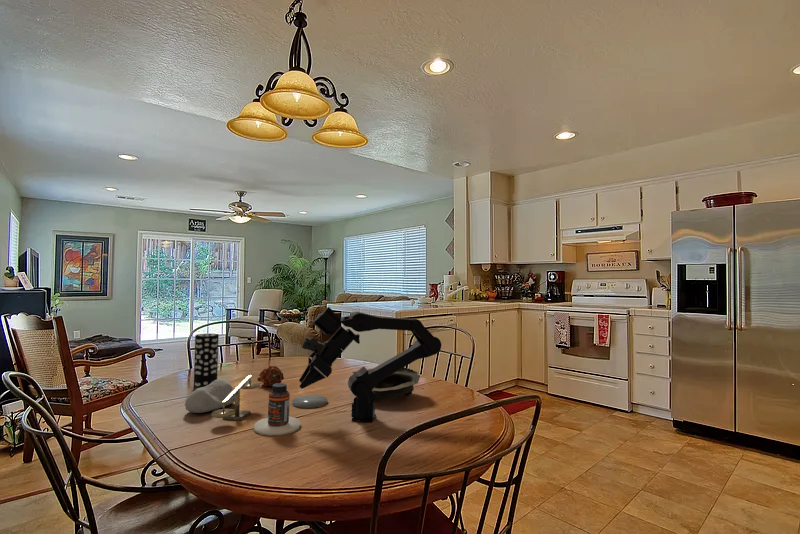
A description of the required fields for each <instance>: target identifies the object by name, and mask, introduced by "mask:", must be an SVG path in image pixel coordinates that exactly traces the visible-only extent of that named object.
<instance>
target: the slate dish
mask: <svg viewBox="0 0 800 534" xmlns="http://www.w3.org/2000/svg"><path fill="white" fill-rule="evenodd" d="M291 404H292V405H291V406H293V407H296V408H300V409H314V408H320V407H323V406H326V405H327V404H328V398H327V397H326V396H323V395H318V394H306V395H299V396H296V397H294V398H292V400H291Z"/></svg>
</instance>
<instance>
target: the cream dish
mask: <svg viewBox="0 0 800 534" xmlns="http://www.w3.org/2000/svg"><path fill="white" fill-rule="evenodd" d="M301 425H302V424H301V420H300V419H299V418H297V417H294V416H289V422H288V423H287V424H286V425H283V426H270V425H269V424H268V417H266V418H262V419H260V420H258V421H256V422H255V423H254V425H253V431H254V432H255V433H256V434H259V435H263V436H266V437H267V436H270V437H272V436H273V437H274V436H275V437H276V436H283V435H288V434H292V433H294V432H297V431H298V430H299V429H301Z"/></svg>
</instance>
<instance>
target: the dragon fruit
mask: <svg viewBox="0 0 800 534" xmlns="http://www.w3.org/2000/svg"><path fill="white" fill-rule="evenodd" d="M284 379H285V377H284V374H283V372H282V371H281V369H280V368H279V367H278V366H277V365H276V366H275V365H269V366H268V367H267V368H264V369H262V370H261V372H260V373H259V375H258V377H257V382H258V383H260V382H261V383H263V386H264V387H267V388H268V387H271V388H272V387H273V384H276V383H282V381H283V380H284Z"/></svg>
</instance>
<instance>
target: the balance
mask: <svg viewBox="0 0 800 534" xmlns="http://www.w3.org/2000/svg"><path fill="white" fill-rule="evenodd" d="M252 377H253V376H252V375H251V374H250V375H248V376H246V377H245V379H243V380H242V381H241V382H240V383H239V384H238V386H236V387H235V388H233V389H234V390H233V391H232V392H231V393H230V394H229V395H228V396H227V397H226V398H225V399H224V400H223V401H222V404H223V407H222V409H221V408H219V409H215V410H212V412H211V417H212V418H214V419H222V420H226V421H227V420H231V421H240V422H241V421H242V420H244V419H246V418H247V417H249V416H251V414H252V411H251V410H242V409H240V407H241V405H240V403H241V402H240V401H241V389H243V390H255V389H258V388H260V387H261V383H260V382H258V381H257V382H256V381H254V382H253V381H252V379H253V378H252ZM234 395H235V402H234V409H232V408H226V406H225V405H226V404H227V403H228V401H229V400H230V399H231V398H232V397H233V396H234Z"/></svg>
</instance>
